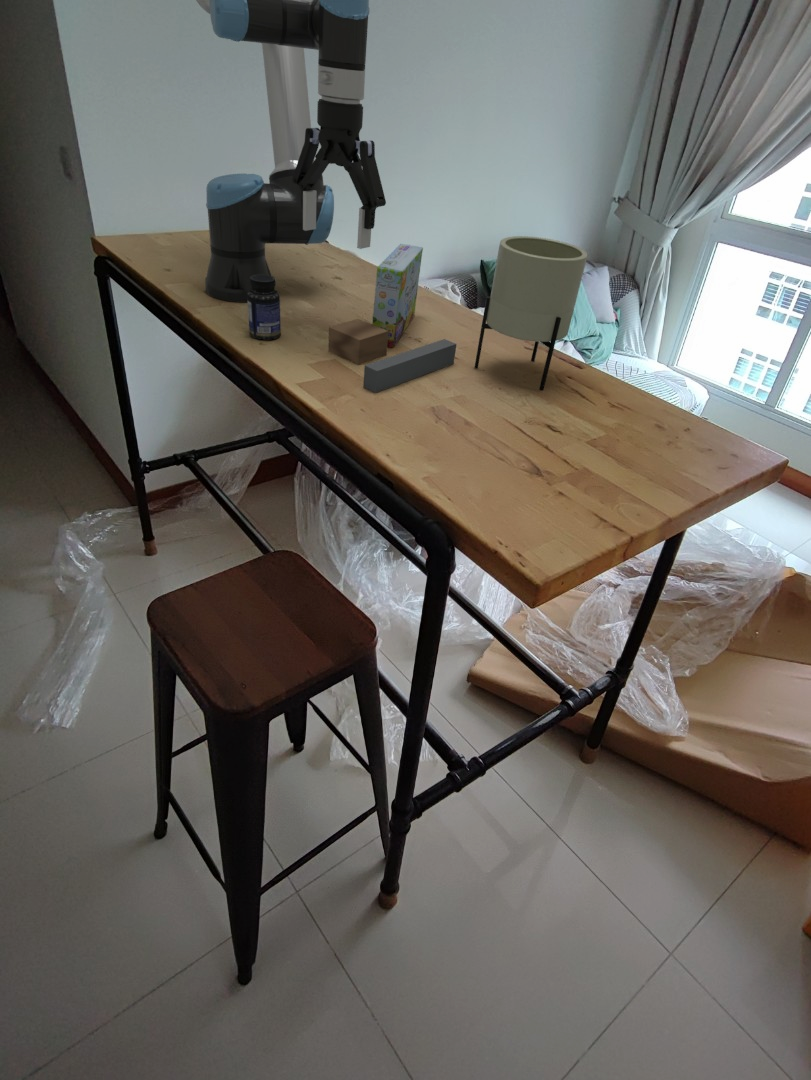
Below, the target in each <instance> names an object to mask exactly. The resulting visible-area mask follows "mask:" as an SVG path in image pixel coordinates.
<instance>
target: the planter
mask: <svg viewBox="0 0 811 1080" xmlns="http://www.w3.org/2000/svg"><path fill="white" fill-rule="evenodd" d="M587 259H588V253H587V251H586V250H585V249H583V248H581V247H580V246H576V245H575V244H574V245H573V244H571V243H568V242H564V241H562V240H561V241H560V240H556V239H552V238H546V237H545V238H544V237H538V236H526V235H525V236H522V235H521V236H519V235H518V236H507V237H505V238H502V239H501V240H500V241H499V246H498V251H497V256H496V264H495V270H494V273H493V279H492V286H491V292H490V296H486V298H485V305H484V311H483V314H482V315H483V316H482V320H481V321H482V322H481V327H480V332H479V338H478V344H477V351H476V357H475V361H474V369H477V370H478V369H479V365H480V358H481V353H482V347H483V343H484V334H485V330H494V331H495V332H498V333H499V334H501V335H504V336H507V337H509V338H513V339H517V340H520V341H521V340H522V341H526V342H527V341H529V342H534V344H533V350H532V354H531V358H530V362H532V363H534V362H535V360H536V356H537V352H538V348H539V343H541V344H542V345H544V346H546V347H547V348H548V351H547V355H546V360H545V364H544V368H543V372H542V375H541V376H542V377H541V381H540V385H539V389H538V390H539V391H542V392H543V391H544V389H545V385H546V383H547V378H548V373H549V369H550V365H551V361H552V357H553V354H554V349H555V347H556V346H555V345H556V341H560V340H562V339H565V337H567V336H568V333H569V330H570V326H571V322H572V318H573V314H574V311H575V308H576V303H577V299H578V295H579V291H580V287H581V284H582V278H583V275H584V272H585V271H584V270H585V267H586V263H587Z"/></svg>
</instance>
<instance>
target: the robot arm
mask: <svg viewBox="0 0 811 1080" xmlns="http://www.w3.org/2000/svg"><path fill="white" fill-rule="evenodd" d="M196 2H197V3H198V5H199V6H200V7H201V8H202V9H203V10H204V11H205V12H206V13H208V14H209V15H210V20H211V25H212V30H213V32H214V34H215V35H216V36H217V37H218V38H221V39H226V40H230V41H232V42H238V43H239V42H248V43H249V42H250V43H258V44H261V47H262V56H263V66H264V76H265V85H266V95H267V103H268V104H267V105H268V106H267V107H268V113H269V125H270V132H271V141H272V151H273V161H274V162H273V163H274V168H273V170H272V171H271V173H270V174H269V176H268V180H269V183H267V182H264V180H263V177H262V176H261V175H259V174H255V173H231V174H224V175H220V176H216V177H214V178H212V179H211V180H209V181H208V183H207V185H206V203H205V207H206V209H207V218H208V219H207V220H208V230H209V231H208V232H209V245H210V258H209V263H208V267H207V271H206V272H207V273H206V277H205V280H204V282H205V283H204V284H205V292H206V293H207V294H208V295H209V296H211V297H212V298H215V299H219V300H222V301H226V302H227V301H228V302H233V303H234V302H236V303H248V300H247V293H248V291H249V290H250V289H252V286H251V284H250V277H251V276H253V275H270V276H272V273H271V270H270V268H269V265H268V262H267V259H266V247H265V246H266V244H284V245H285V244H287V245H288V244H290V245H291V244H292V245H295V244H297V245H298V244H299V245H303V244H304V245H306V246H307V245H309V244H310V245H311V244H312V245H313V244H314V245H315V244H322V243H325V242H326V240H327V239H328V238H329V236H330V233H331V230H332V225H333V223H334V222H333V221H334V213H335V196H334V192H333V188H332V187H331V186H330V185H328V184H324V177H323V173H324V172H325V171H326V169H327V167H328V166H329V165H332V164H333V165H336V166H338V167H343V168H344V170H345V171H346V172H347V173H348V175H349V177H350V180H351V181H352V184H353V187H354V188H355V191H356V193H357V195H358V197H359V200H360V203H361V204H362V206H361V207H359V209H358V210H359V211H358V226H357V228H358V229H357V243H356V244H357V245H356V248H357V249H359V250H362V249H366V248H370V247H371V238H372V229H374V227H375V222H376V220H375V219H376V210H377V208H380V207H384V206H386V204H387V202H386V198H385V193H384V190H383V185H382V181H381V175H380V172H379V168H378V164H377V160H376V155H375V154H376V152H375V151H376V150H375V145H376V144H375V142H374V140H360V132H361V130H362V129H363V120H364V106H363V104H362V103H361V101H363V100H364V99H365V82H366V81H365V79H366V63H367V62H366V61H367V60H366V58H367V41H368V40H367V39H368V26H369V25H368V24H369V14H370V7H369V6H370V5H369V4H370V3H369V2H370V0H196ZM305 49H309V50H315V51H318V62H317V63H318V66H317V67H318V68H317V71H318V72H317V73H318V76H317V78H318V81H317V94H318V95H319V96H321V98H319V99H318V100H317V117H316V118H317V119H316V121H317V125H318V126H319V127H320V128H319V127H312V121H311V111H310V110H311V109H310V102H309V99H310V98H309V90H308V80H307V69H306V58H305V57H306V56H305ZM319 146H320V148H319ZM318 149H319V150H318Z"/></svg>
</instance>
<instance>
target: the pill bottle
mask: <svg viewBox="0 0 811 1080" xmlns="http://www.w3.org/2000/svg"><path fill="white" fill-rule="evenodd" d="M250 284H251V286H252V289H250V290H249V291H248V293H247V300H248V302H247V314H248V332H249V335H250V337H252V338H253V337H254V338H253V339H256V338H257V340H260V339H263V340H262V341H272V339H273V340H276V339H278V338H280V336H281V330H282V329H281V325H282V324H281V298H280V297H281V296H280V292H278V290H276V289H275V287H277V286H276V285H277V281H276V278H275V276H272V275H271V276H270V275H253V276H251V277H250Z"/></svg>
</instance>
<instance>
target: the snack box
mask: <svg viewBox="0 0 811 1080" xmlns="http://www.w3.org/2000/svg"><path fill="white" fill-rule="evenodd" d="M423 250H424V247H423V246H417V245H411V244H404V243H400V244H399V245H397V247H395V249H394V250H393V251H392V252H391V253H390V254H388V256H386V258H385V259H384V260H382V262H381V263H380V264H379V265H378V266H377V270H376V280H375V290H374V291H375V293H374V301H373V313H372V323H371V324H372V325H375V326H377V327H380V328H382V329H385V330H387V331H388V343H387V348H388V347H389V348H395V346H396V344H397V343H398V342H399V340H400V338H401V337H402V336H403V334H404V333H405V331H406V330H407V328H408V326H409V325H410V324H411V322H412V321H413V319H414V318H415V316H416V315H415V313H416V306H417V305H416V303H417V296H418V289H419V279H420V273H421V267H422V266H421V265H422V257H423V252H424V251H423Z"/></svg>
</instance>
